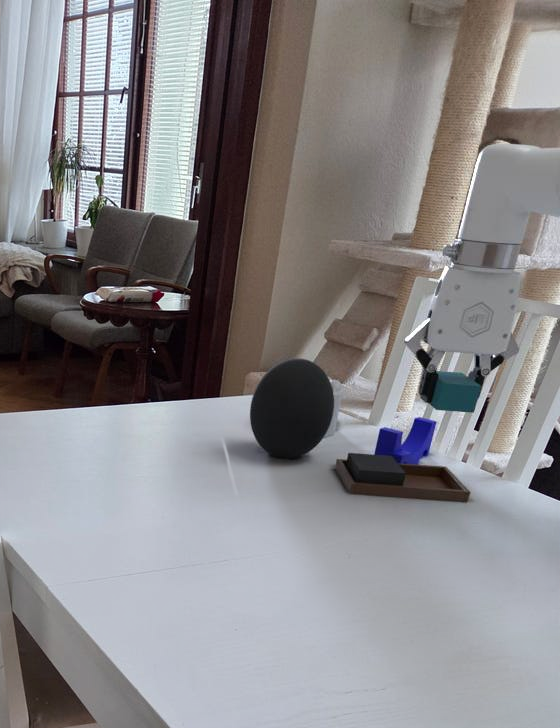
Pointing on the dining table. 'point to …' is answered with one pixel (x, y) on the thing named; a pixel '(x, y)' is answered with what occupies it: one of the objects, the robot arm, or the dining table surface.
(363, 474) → the back pad
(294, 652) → the dining table surface
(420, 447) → the blue curved cradle
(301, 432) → the decorative egg
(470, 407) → the teal rectangular block
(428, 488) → the frame
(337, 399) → the lumpy-topped squat cylinder
